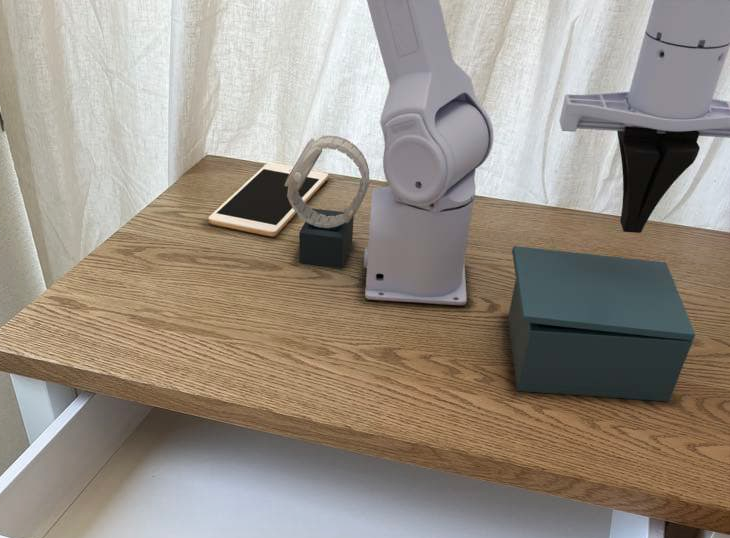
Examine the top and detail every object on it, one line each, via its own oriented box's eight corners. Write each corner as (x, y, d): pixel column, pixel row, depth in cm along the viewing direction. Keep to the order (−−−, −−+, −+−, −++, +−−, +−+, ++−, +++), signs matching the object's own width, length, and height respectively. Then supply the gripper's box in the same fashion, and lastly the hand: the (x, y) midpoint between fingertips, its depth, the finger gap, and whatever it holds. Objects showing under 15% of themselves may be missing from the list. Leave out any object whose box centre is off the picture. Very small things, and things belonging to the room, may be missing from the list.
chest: (516, 391, 68) (530, 331, 64) (507, 317, 76) (519, 260, 72) (668, 401, 68) (692, 341, 64) (643, 326, 76) (663, 269, 71)
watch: (293, 235, 86) (292, 124, 79) (369, 244, 85) (376, 133, 77) (280, 260, 83) (277, 147, 75) (358, 270, 82) (365, 156, 74)
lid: (522, 322, 64) (524, 315, 63) (511, 252, 72) (513, 245, 71) (692, 341, 64) (695, 334, 63) (663, 268, 71) (666, 262, 71)
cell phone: (329, 178, 96) (329, 173, 96) (274, 237, 86) (274, 231, 85) (267, 167, 98) (267, 161, 98) (207, 223, 87) (206, 218, 87)
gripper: (779, 25, 59) (710, 210, 69) (574, 14, 60) (535, 199, 70) (809, 55, 54) (731, 250, 64) (586, 43, 55) (543, 238, 65)
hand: (630, 226), depth 67 cm, fingers closed
